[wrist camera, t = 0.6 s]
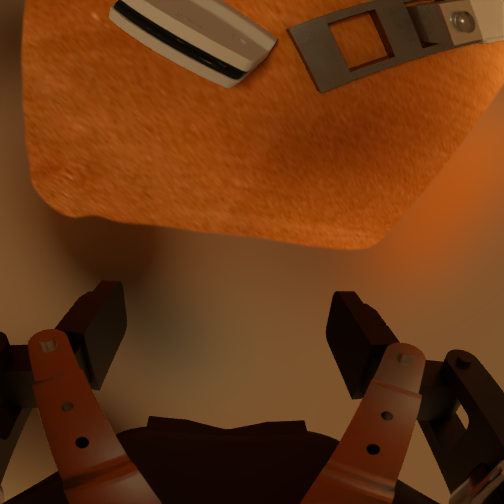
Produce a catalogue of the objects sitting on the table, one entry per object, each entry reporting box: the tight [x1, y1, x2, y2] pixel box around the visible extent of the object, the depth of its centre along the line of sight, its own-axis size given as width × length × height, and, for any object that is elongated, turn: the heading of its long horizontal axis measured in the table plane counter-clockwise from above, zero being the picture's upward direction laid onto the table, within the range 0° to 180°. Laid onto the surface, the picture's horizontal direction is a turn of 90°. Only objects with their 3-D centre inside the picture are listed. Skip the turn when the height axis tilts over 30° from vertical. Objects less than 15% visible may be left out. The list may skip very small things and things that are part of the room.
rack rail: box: [286, 0, 481, 93], centre depth 26 cm, size 8×24×2 cm, turn 117°
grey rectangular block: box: [406, 0, 483, 45], centre depth 22 cm, size 5×5×9 cm
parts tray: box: [470, 0, 504, 44], centre depth 22 cm, size 9×9×2 cm
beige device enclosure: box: [109, 0, 277, 88], centre depth 24 cm, size 17×5×10 cm, turn 52°
